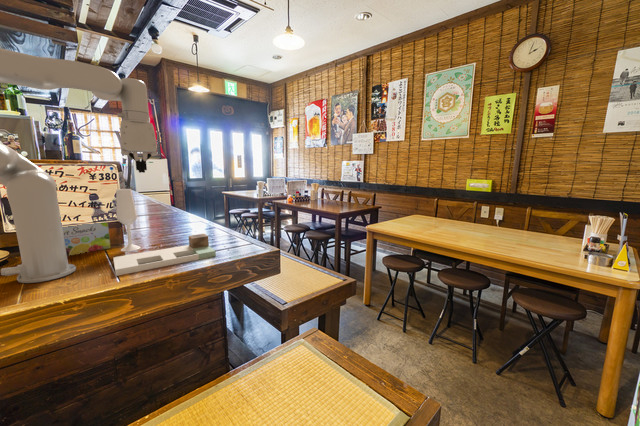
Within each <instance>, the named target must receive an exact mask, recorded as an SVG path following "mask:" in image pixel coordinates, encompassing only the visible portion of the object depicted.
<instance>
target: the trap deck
mask: <svg viewBox="0 0 640 426" xmlns="http://www.w3.org/2000/svg"><path fill="white" fill-rule="evenodd" d="M216 256H217V254H216V250H215V249H213V247H211V246H210V245H209V246H205V247H199V248H194V249H192V248H191V247H190V246H189V244H187V245H181V246H175V247H174V246H173V247H168V248H161V249H156V250H149V251H143V252H138V253H132V254H126V255H119V256H115V257H114V256H113V257H112V258H113V265H114V272H115V276H116V277H117V276H123V275H128V274H132V273H138V272H142V271H143V272H144V271H148V270H152V269H153V270H154V269H157V268H162V267H163V268H164V267H167V266H173V265H178V264H182V263H187V262H193V261H196V260H197V261H198V260H202V259H207V258H212V257H216Z"/></svg>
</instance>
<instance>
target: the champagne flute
mask: <svg viewBox="0 0 640 426" xmlns="http://www.w3.org/2000/svg"><path fill="white" fill-rule="evenodd" d="M115 193H116V194H115V195H116V197H115V199H116V204H115V205H116V206H115V207H116V209H115V210H116V212H115V213H116V221H118V222H119V223H121V224H122V225H124V226H126V234H127V243H128V244H127V245H126V246H124V247H123V248H121V249H120V251H121V252H131V251H137V250H139V249H141V248H142V247H141V246H139V245H137V244H134V243H133V241H132V240H133V239H132V230H131V225H132V224H133V223H134V222H136V220H137V218H138V213H137V209H136V204H135V200H134V195H133V191H132V188H117V189H116V190H115Z"/></svg>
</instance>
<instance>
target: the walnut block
mask: <svg viewBox="0 0 640 426" xmlns="http://www.w3.org/2000/svg"><path fill="white" fill-rule="evenodd" d="M188 245H189V246H190V247H191V248H192V249H194V248H199V247H205V246H210V244H209V235H208V234H206V233H198V234H193V235H188Z"/></svg>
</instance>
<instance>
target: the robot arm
mask: <svg viewBox="0 0 640 426" xmlns="http://www.w3.org/2000/svg"><path fill="white" fill-rule="evenodd" d="M0 83H2V84H8V85H15V86H20V87H26V88H31V89H37V90H44V91H48V90H57V89H75V90H82V91H88V92H91V94H92V95H93V96H94V97H96V98H98V99H100V100H102V101H106V102H108V101H110V102H121V110H122V112H120V113H119V112H116V114H117V117H118V118H120V119H122V120H121V121H120V124H119V125H120V129H119V131H120V132H119V135H120V147H121V151H120V154H121V155H123V156H127V157H130V158H131V159H132V160H134V161H135V169H136V171H138V173H140V174H141V173H146V171H147V170H148V169H147V168H148V167H147V161H148V160H149V159H150V158H151V157H156V156H158V155H159V154H158V146H157V145H158V144H157V139H156V138H157V137H156V132H155V128H154V125H153V123H152V122H150V113H149V112H150V111H149V100H148V90H147V85H146V83H145V82H144V81H142V80H140V79H136V78H132V77H124V78H120V77H119V75H118V74H117V73H115V72H114V71H112V70H110V69H108V68H105V67H104V66H103V67H102V66H99V65H94V64H90V63H86V62H81V61H77V60H71V59H65V58H64V59H62V58H53V57H44V56H37V55H31V54H27V53H24V52H18V51H15V50H11V49H6V48H1V47H0ZM138 153H142V156H141V159H140V158H139V154H138ZM0 185H2V186H3V187H6V189H5V190H6V195H7V199H8V203H9V206H10V210H11V213H12V219H13V224H14V228H15V233H16V238H17V242H18V248H19V253H20V258H21V263H20V264H17V265H16V266H12V267H11V266H10V267H4V268H1V269H0V275H1V276H5V277H8V276H9V277H10V276H13V275H17V276H16V280H17V282H18V283H22V284H33V283H36V284H37V283H43V282H47V281H52V280H56V279H59V278H63V277H66V276H68V275H71V274H72V273H74V272H76V270H77V267H76V265H75V264H72V263H69V260H68V259H69V258H68V256H67V253H66V247H65V241H64V234H63V228H62V223H61V216H60V215H61V212H60V211H61V210H60V206H59V200H58V192H57V183H56V180H55V179H54V177H52V176H51V174H50V173H47V171H45V170H43V169H42V168H40V167H39V166H37V165H36V164H35V163H33V162H31V161H30V160H29V159H27V158H26V157H24V156H23V155H22V154H20V153H19V152H17V151H16V150H15V149H13V148H11V147H10V146H8V145H6V144H3V143H2V142H0Z"/></svg>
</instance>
